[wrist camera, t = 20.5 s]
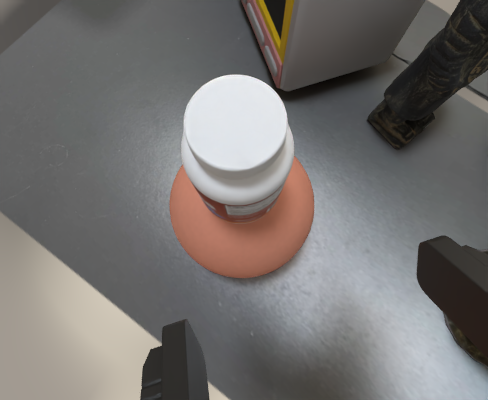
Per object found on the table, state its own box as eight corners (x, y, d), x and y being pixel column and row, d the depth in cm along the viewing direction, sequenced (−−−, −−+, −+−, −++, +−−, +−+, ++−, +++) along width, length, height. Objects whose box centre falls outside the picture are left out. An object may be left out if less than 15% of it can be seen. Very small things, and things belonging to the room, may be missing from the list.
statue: (393, 161, 41) (738, -128, 12) (352, 128, 43) (579, -208, 14) (439, 112, 43) (839, -244, 14) (399, 81, 44) (689, -305, 15)
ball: (243, 305, 37) (241, 318, 23) (162, 221, 40) (114, 185, 25) (323, 220, 39) (368, 183, 25) (242, 146, 42) (240, 73, 28)
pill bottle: (193, 157, 26) (154, 72, 15) (269, 141, 26) (284, 45, 15) (209, 233, 24) (178, 201, 13) (288, 215, 24) (321, 169, 14)
